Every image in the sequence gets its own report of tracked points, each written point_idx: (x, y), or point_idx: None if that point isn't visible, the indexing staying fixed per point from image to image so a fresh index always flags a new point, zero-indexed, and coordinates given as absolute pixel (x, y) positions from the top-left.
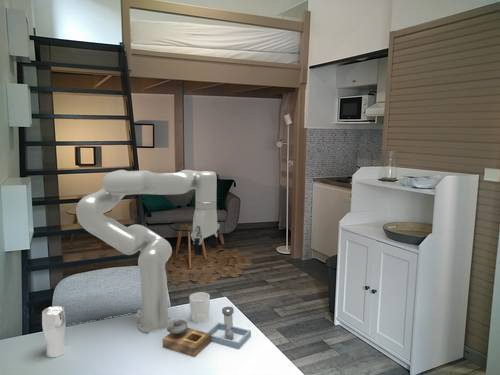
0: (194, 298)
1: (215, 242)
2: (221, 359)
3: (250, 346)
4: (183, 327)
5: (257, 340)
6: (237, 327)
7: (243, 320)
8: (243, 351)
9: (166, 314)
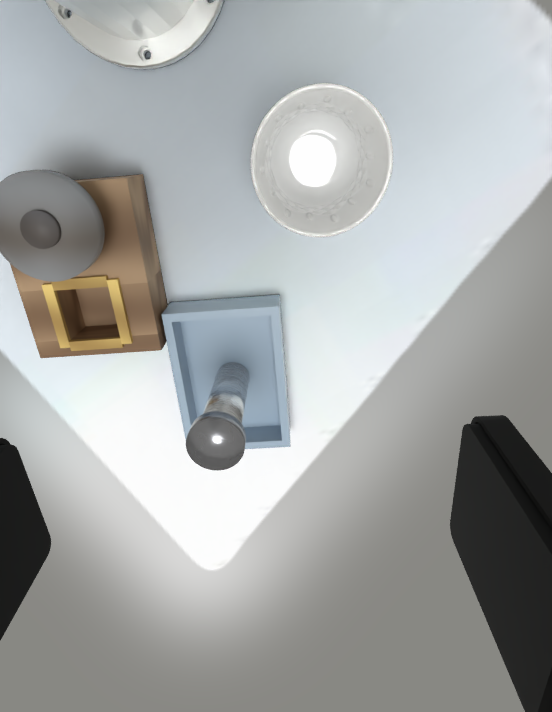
0: (339, 98)
1: (491, 623)
2: (124, 409)
3: None
4: (45, 277)
5: (292, 449)
6: (283, 396)
7: (407, 339)
8: None
9: (138, 23)
